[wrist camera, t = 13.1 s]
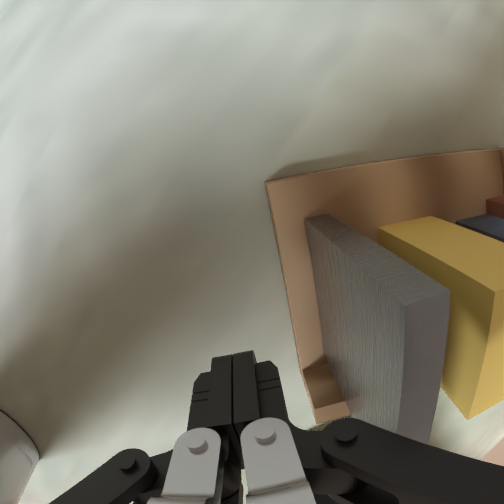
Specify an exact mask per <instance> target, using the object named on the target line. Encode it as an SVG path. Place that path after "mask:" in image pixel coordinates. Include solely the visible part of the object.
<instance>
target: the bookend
mask: <svg viewBox="0 0 504 504" xmlns="http://www.w3.org/2000/svg"><path fill="white" fill-rule="evenodd" d="M304 222H305V228H306V233H307V239H308V245H309V251H310V258H311V264H312V270H313V277H314V284H315V290H316V297H317V304H318V312H319V319H320V326H321V334H322V342H323V350H324V355H325V358H326V360H327V362H328V364H329V367H330V369H331V371H332V373H333V375H334V378H335V380H336V382H337V384H338V387H339V389H340V391H341V393H342V396H343V398H344V400H345V403H346V405H347V407H348V409H349V412H350V414H351V416H352V418H356V419H360V420H362V421H365V422H367V423H370V424H372V425H375V426H377V427H380V428H383V429H385V430H388V431H390V432H393V433H396V434H399V435H401V436H404V437H407V438H410V439H413V440H415V441H418V442H421V443H424V444H427V443H428V439H429V435H430V431H431V427H432V423H433V418H434V414H435V409H436V404H437V400H438V394H439V389H440V383H441V377H442V371H443V365H444V357H445V350H446V341H447V332H448V321H449V308H450V290H448V289H447V288H445V287H444V286H442V285H441V284H440V283H438V282H437V281H435V280H434V279H432V278H431V277H429V276H428V275H426V274H425V273H423V272H421V271H420V270H418V269H417V268H415V267H414V266H412V265H411V264H409V263H408V262H406V261H404V260H403V259H401V258H400V257H398V256H397V255H395V254H393V253H392V252H390V251H389V250H387V249H385V248H384V247H382V246H381V245H379V244H377V243H376V242H374V241H373V240H371V239H369V238H368V237H366V236H364V235H363V234H361V233H359V232H358V231H356V230H354V229H353V228H351V227H349V226H348V225H346V224H344V223H342V222H341V221H339V220H337V219H336V218H334V217H332V216H330V215H329V214H323V215H318V216H314V217H309V218H304Z"/></svg>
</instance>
